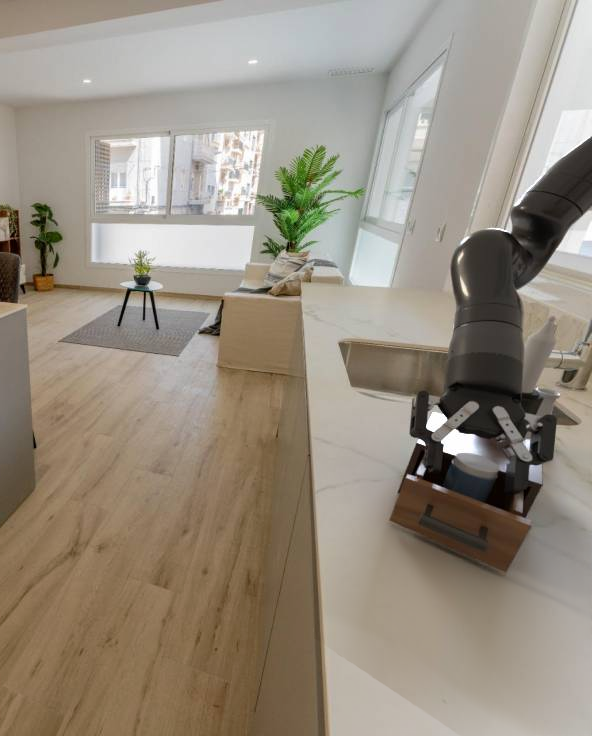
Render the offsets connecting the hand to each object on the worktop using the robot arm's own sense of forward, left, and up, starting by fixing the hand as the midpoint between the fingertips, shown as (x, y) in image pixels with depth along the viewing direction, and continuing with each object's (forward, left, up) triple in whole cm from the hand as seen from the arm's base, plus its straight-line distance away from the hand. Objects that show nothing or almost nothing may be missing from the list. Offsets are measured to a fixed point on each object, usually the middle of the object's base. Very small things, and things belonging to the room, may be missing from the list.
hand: (472, 482), depth 52 cm
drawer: (0, 0, -7) cm, 7 cm away
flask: (-28, -28, -8) cm, 41 cm away
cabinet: (-6, -9, -8) cm, 14 cm away
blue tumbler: (-1, -2, -6) cm, 6 cm away
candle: (-16, -19, -8) cm, 27 cm away
